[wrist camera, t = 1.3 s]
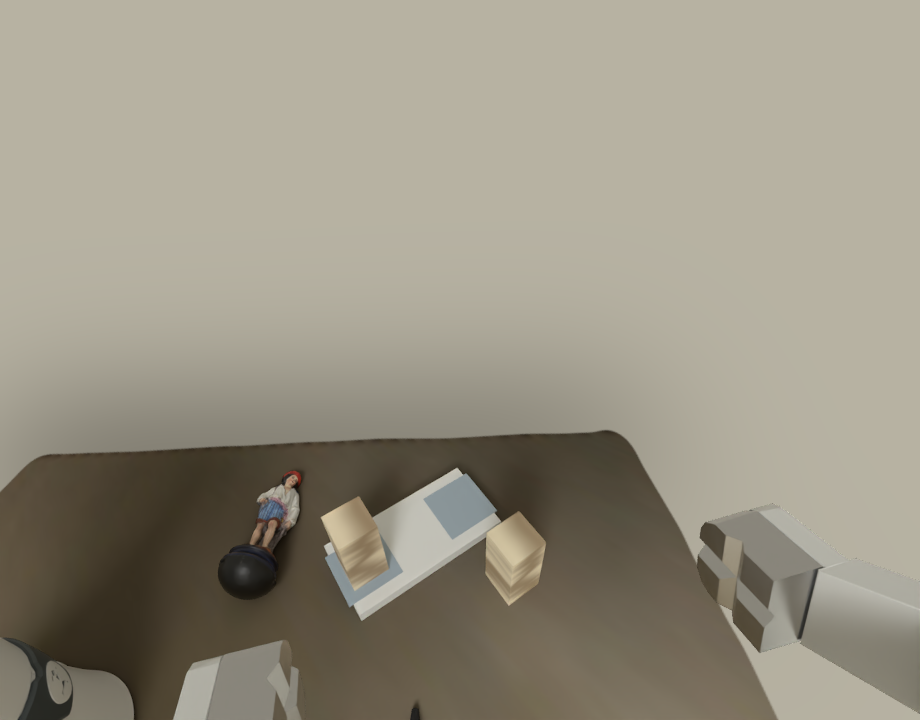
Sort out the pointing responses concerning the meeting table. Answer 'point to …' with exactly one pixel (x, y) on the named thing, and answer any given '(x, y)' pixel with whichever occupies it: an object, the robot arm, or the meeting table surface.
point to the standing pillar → (356, 542)
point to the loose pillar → (514, 557)
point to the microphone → (415, 714)
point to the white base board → (420, 538)
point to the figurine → (262, 543)
